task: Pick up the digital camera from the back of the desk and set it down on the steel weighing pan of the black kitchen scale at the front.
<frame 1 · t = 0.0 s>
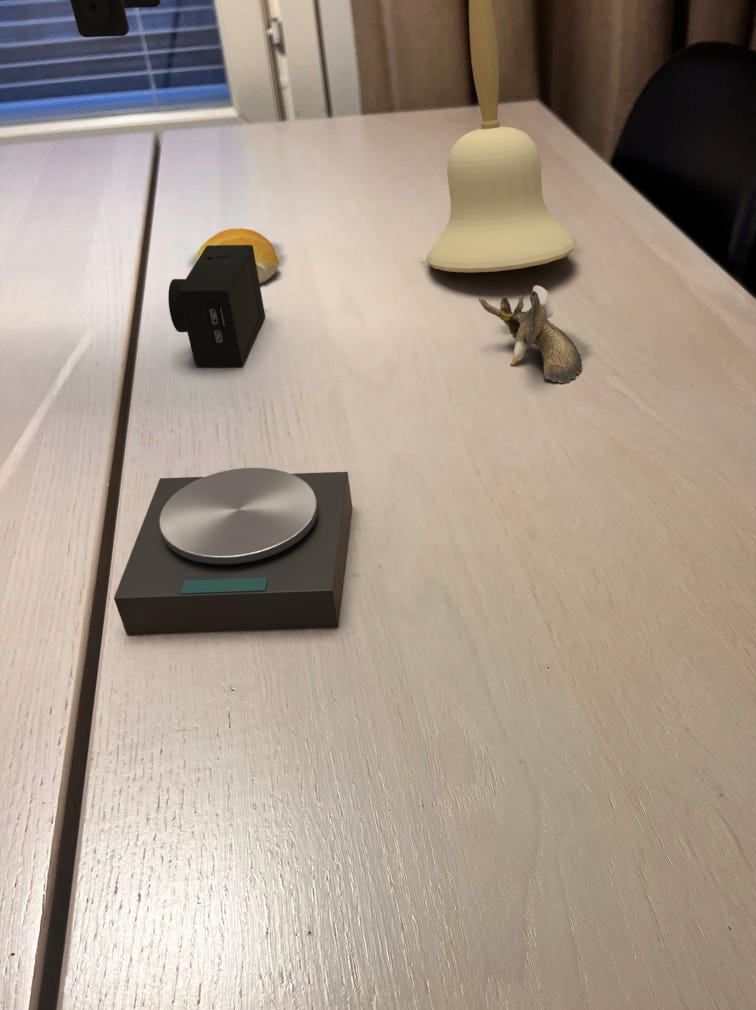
hand: (123, 20, 68), 26 cm above the table, tool pointing down, fingers open, 9 cm apart
scale: (248, 566, 65), on the table
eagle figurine: (534, 363, 86), on the table
handbell: (500, 270, 102), on the table
bread roll: (241, 275, 102), on the table
scale pan: (239, 515, 63), point 4 cm above the table, slide at 0.0 cm
digital camera: (225, 343, 90), on the table
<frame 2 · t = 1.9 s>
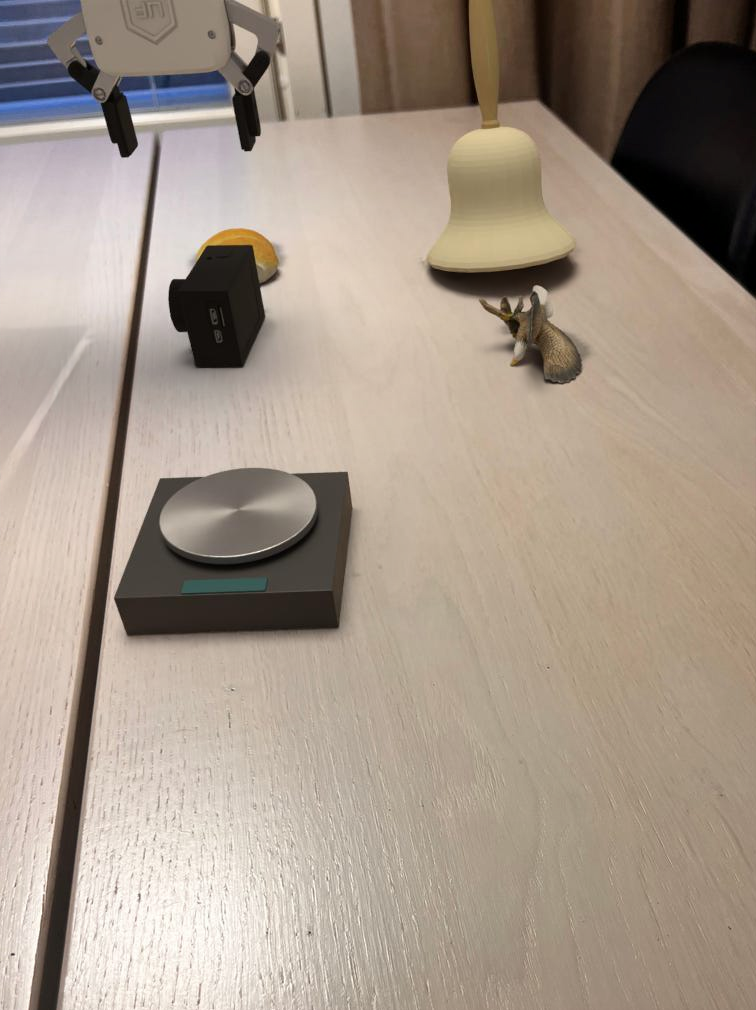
hand: (189, 149, 79), 16 cm above the table, tool pointing down, fingers open, 9 cm apart
nothing on the table moved.
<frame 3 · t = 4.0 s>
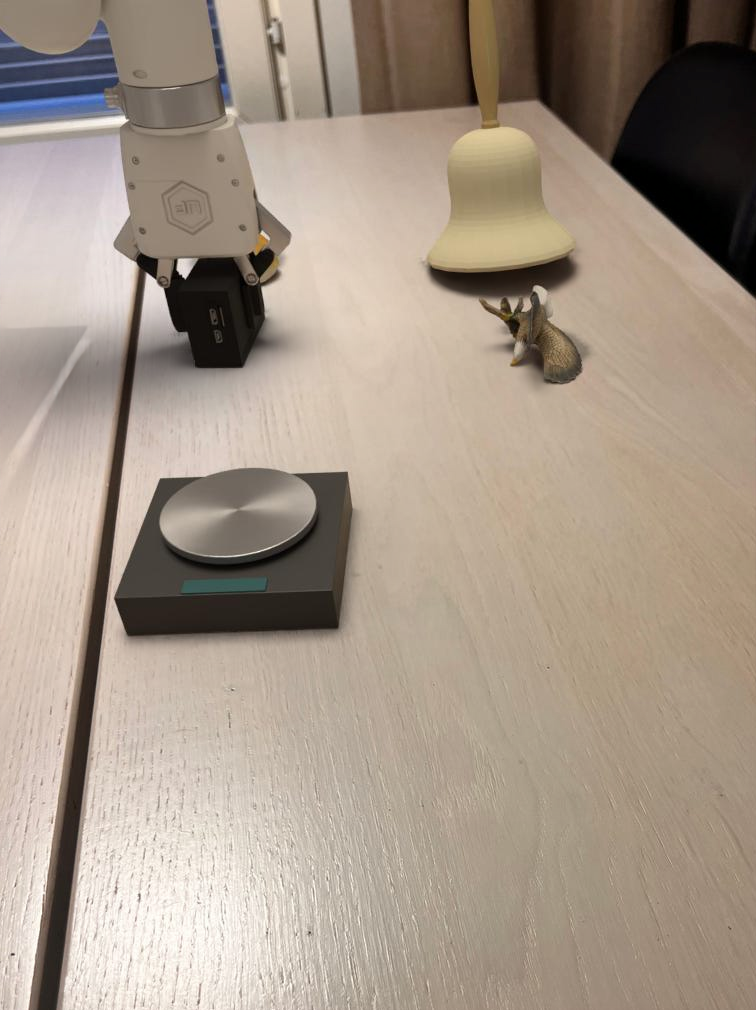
hand: (219, 322, 89), 2 cm above the table, tool pointing down, fingers closed on digital camera, 5 cm apart
digital camera: (225, 343, 90), on the table, touching gripper
everything else where it was.
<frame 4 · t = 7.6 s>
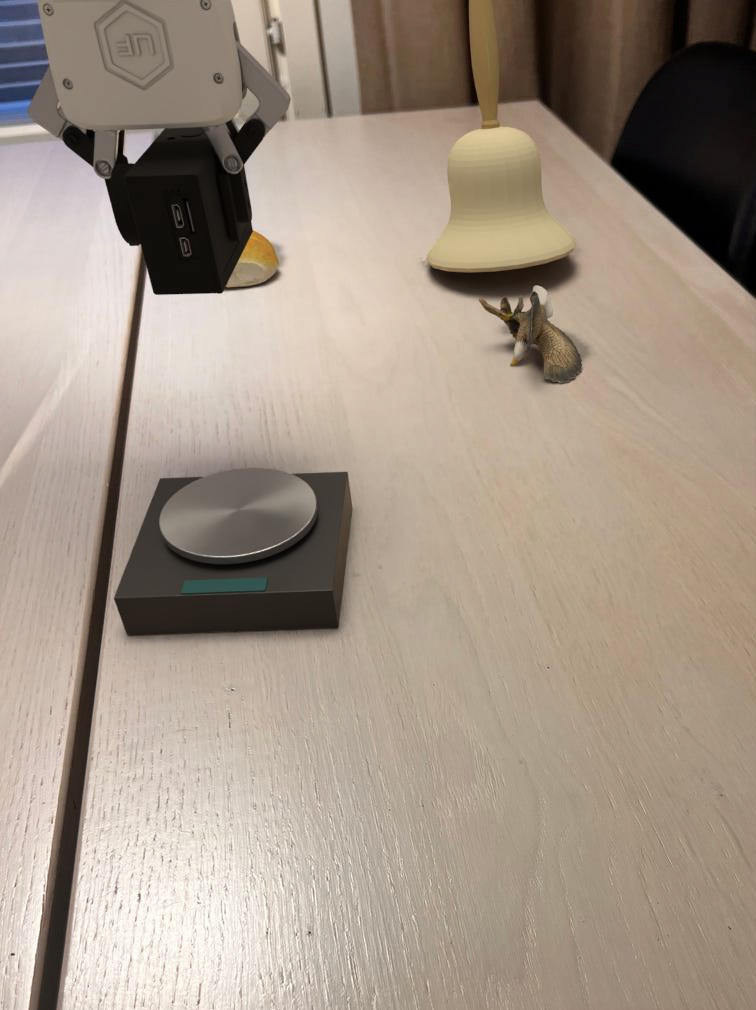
hand: (188, 233, 62), 18 cm above the table, tool pointing down, fingers closed on digital camera, 5 cm apart
digital camera: (198, 265, 64), point 15 cm above the table, touching gripper
everything else where it was.
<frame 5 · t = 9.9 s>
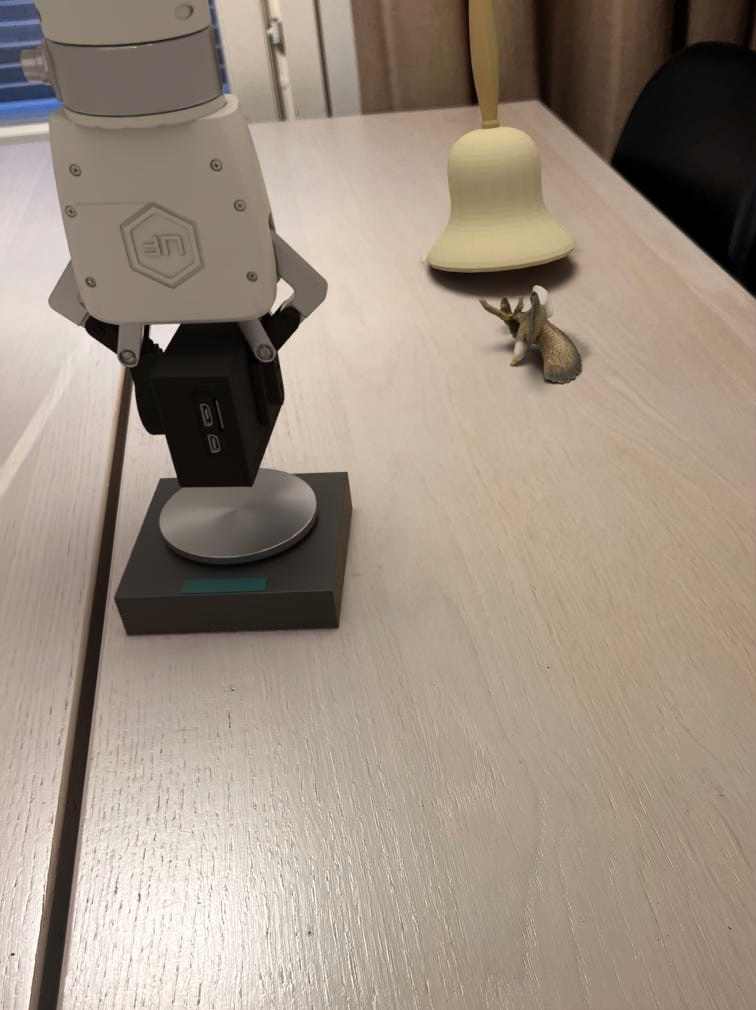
hand: (216, 413, 59), 11 cm above the table, tool pointing down, fingers closed on digital camera, 5 cm apart
digital camera: (226, 443, 60), point 9 cm above the table, touching gripper
everything else where it was.
when the fingers open (6 cm above the table, at t = 11.6 s): digital camera stays where it is, resting on scale pan.
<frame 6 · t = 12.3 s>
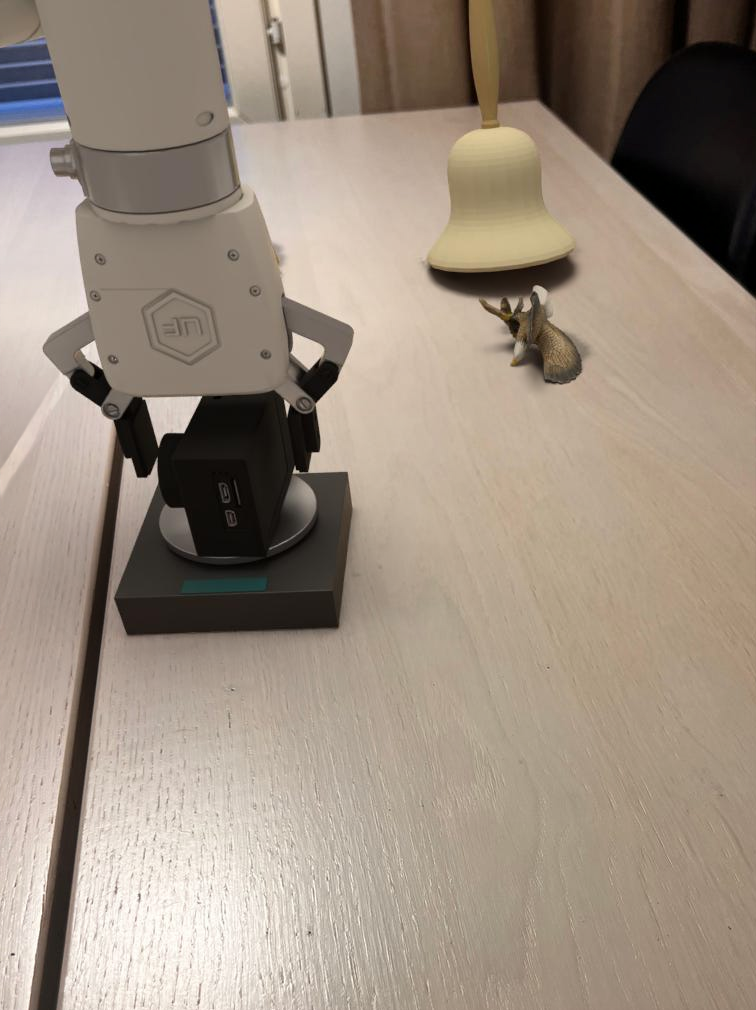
hand: (227, 463, 61), 7 cm above the table, tool pointing down, fingers open, 9 cm apart
scale pan: (240, 516, 63), point 3 cm above the table, slide at 0.0 cm, touching digital camera, scale
digital camera: (240, 511, 63), point 4 cm above the table, touching scale pan
everything else where it was.
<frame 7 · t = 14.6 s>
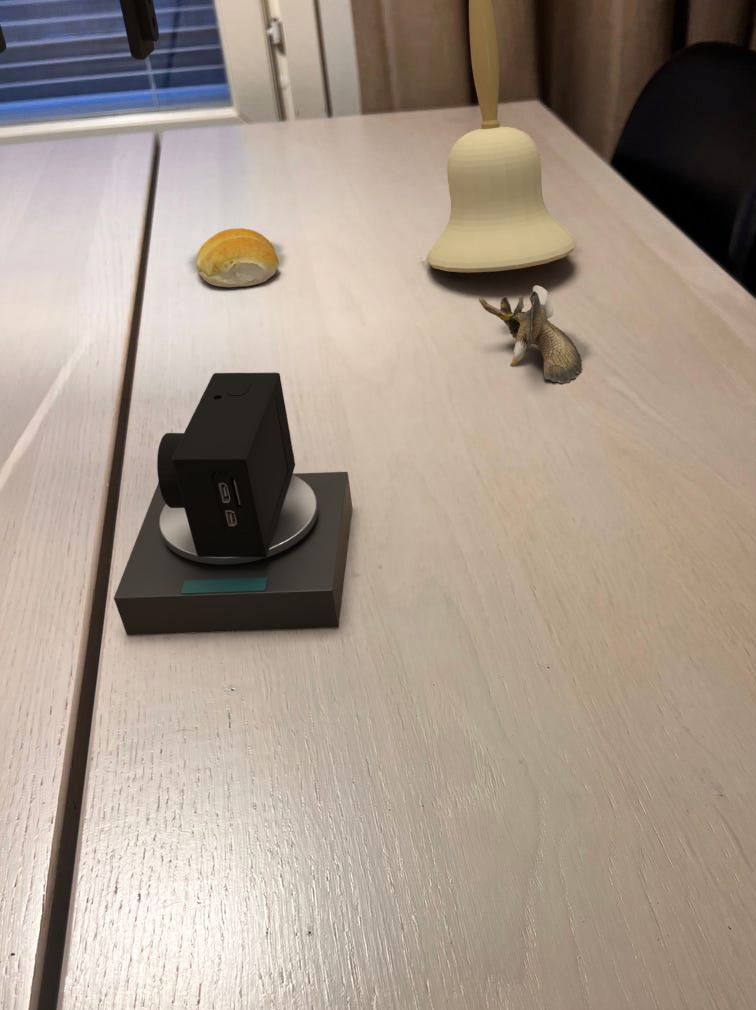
hand: (68, 55, 63), 26 cm above the table, tool pointing down, fingers open, 9 cm apart
nothing on the table moved.
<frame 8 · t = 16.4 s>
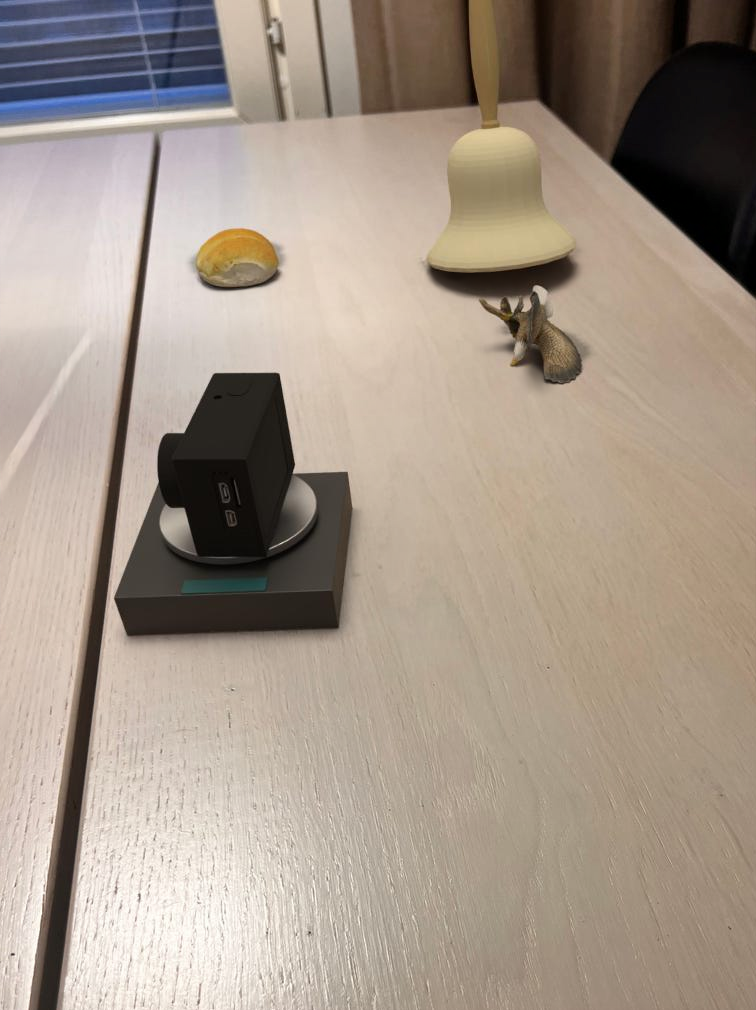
nothing on the table moved.
at the end: digital camera inside the target area on the scale (0.1 cm from its centre), point 3.8 cm above the scale's base; digital camera tilted 0°; the gripper is holding nothing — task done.
